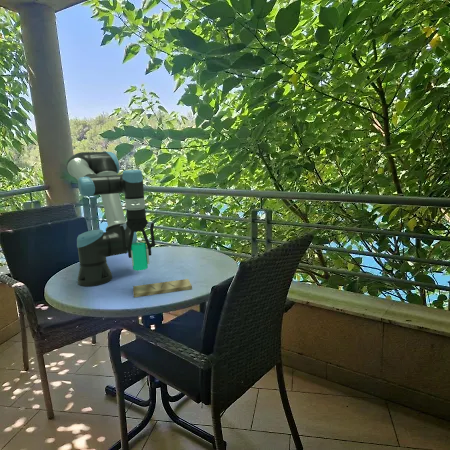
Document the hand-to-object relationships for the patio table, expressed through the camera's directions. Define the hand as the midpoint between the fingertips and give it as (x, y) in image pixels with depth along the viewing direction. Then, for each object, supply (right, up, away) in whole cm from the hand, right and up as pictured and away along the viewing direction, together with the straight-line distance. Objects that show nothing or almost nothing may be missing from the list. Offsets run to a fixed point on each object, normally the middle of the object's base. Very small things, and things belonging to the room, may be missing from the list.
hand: (140, 263), depth 139 cm
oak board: (+8, -11, +5) cm, 15 cm away
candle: (0, -2, 0) cm, 2 cm away
